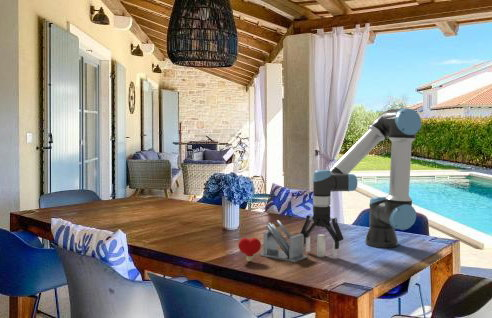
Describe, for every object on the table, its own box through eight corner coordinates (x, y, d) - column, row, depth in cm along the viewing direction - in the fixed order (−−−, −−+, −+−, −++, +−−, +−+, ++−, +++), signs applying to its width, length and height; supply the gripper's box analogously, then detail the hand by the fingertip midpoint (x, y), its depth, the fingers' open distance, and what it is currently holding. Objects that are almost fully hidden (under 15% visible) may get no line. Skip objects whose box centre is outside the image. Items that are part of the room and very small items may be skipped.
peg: (326, 255, 214) (326, 235, 213) (322, 257, 211) (323, 236, 210) (319, 254, 216) (319, 234, 215) (315, 256, 213) (315, 235, 212)
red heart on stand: (260, 259, 207) (260, 236, 206) (261, 264, 200) (261, 239, 199) (238, 259, 206) (238, 236, 206) (238, 264, 199) (238, 240, 199)
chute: (307, 257, 211) (307, 222, 210) (295, 262, 203) (295, 226, 202) (272, 251, 221) (272, 218, 220) (259, 255, 213) (260, 221, 212)
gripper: (351, 207, 208) (350, 256, 209) (301, 201, 222) (300, 248, 224) (344, 209, 202) (343, 260, 203) (292, 203, 216) (292, 251, 218)
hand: (321, 254), depth 213 cm, fingers open, 12 cm apart
